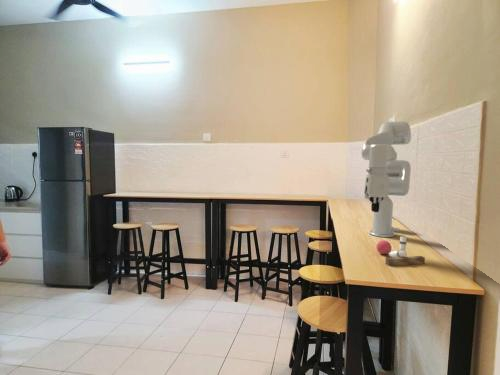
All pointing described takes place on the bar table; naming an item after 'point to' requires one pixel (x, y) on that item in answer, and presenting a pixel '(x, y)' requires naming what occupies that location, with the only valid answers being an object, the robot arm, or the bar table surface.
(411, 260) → the wall
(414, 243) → the bar table surface
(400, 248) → the rear pin
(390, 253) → the front pin
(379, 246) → the ball
